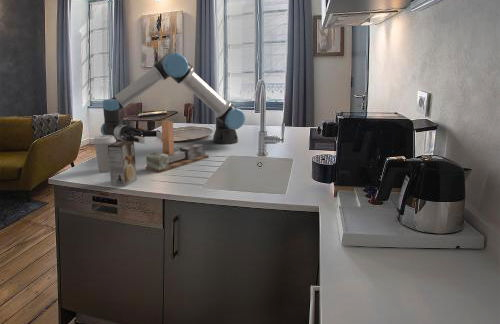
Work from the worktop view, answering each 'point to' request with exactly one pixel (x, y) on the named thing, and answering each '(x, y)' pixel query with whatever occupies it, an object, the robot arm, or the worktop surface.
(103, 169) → the coffee cup
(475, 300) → the worktop surface
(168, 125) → the orange and grey l-shape
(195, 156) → the stand
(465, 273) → the worktop surface
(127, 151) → the coffee box
